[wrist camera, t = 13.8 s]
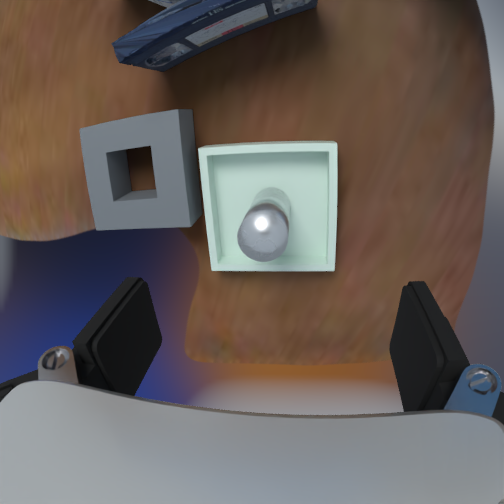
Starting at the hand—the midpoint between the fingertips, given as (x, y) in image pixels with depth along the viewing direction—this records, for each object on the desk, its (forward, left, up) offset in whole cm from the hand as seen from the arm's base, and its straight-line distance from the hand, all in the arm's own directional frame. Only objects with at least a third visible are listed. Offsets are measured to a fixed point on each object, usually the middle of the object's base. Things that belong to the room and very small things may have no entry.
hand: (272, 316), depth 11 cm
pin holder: (+16, -2, -25) cm, 30 cm away
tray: (+2, +3, -25) cm, 25 cm away
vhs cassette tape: (+5, -17, -25) cm, 31 cm away
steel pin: (+2, +3, -24) cm, 24 cm away
